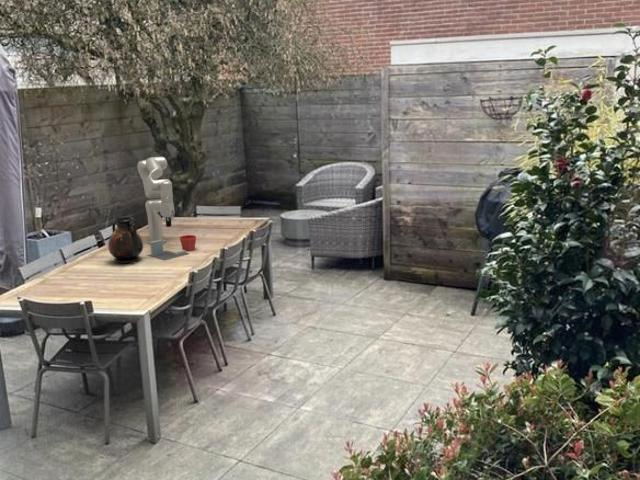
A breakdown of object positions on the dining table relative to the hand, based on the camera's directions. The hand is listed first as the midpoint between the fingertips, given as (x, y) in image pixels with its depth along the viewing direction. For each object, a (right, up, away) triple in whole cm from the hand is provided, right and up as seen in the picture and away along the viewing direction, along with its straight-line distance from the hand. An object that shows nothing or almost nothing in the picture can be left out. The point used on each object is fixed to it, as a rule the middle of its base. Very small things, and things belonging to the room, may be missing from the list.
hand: (168, 226), depth 403 cm
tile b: (-6, -19, -4) cm, 21 cm away
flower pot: (+11, -16, +10) cm, 22 cm away
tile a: (+1, -16, +3) cm, 17 cm away
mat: (+1, -19, -3) cm, 20 cm away
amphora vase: (-23, -23, -16) cm, 36 cm away
